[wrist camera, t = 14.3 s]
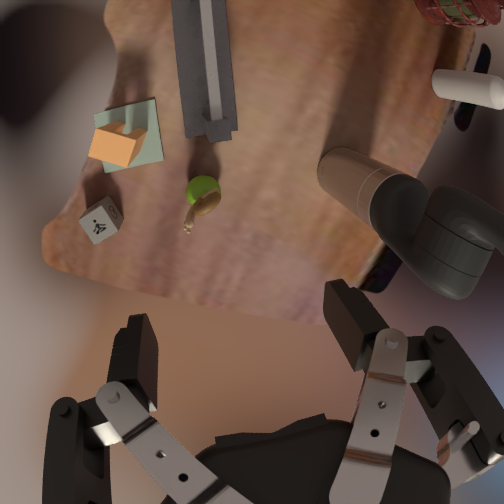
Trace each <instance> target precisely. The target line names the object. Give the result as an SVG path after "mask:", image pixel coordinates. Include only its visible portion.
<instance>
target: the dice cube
mask: <svg viewBox="0 0 504 504" xmlns="http://www.w3.org/2000/svg"><path fill="white" fill-rule="evenodd" d="M123 220H124V218H123V217H122V215H121V214H120V212H119V210H118V209H117V207H116V206H115V204H114V202H113V201H112V199H111V198H110V196H109V195H108V196H106V197H105V198H103V199H102V200H100V201H98V202H97V203H95V204H94V205H92V206H91V207H89V208H88V209H86V211H85V212H84V213H83V215H82V216H81V217H80V219H79V220H78V221H79V223H80V224H81V226H82V227H83V229H84V230H85V232H86V233H87V235H88V236H89V238H90V239H91V240H92V242H93V243H94V245H96V244H98V243H99V242H101V241H103V240H104V239H106V238H108V237H109V236H111V235H113V234H114V233H116V232H118V231H119V229H120V226H121V224H122V222H123Z"/></svg>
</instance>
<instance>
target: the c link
mask: <svg viewBox="0 0 504 504" xmlns="http://www.w3.org/2000/svg"><path fill="white" fill-rule="evenodd" d="M124 127H125V123H121V122H118V121H115V122H113V123H110V124H107V125H104V126H102V127H99V128H96V131H95V134H94V138H93V141H92V144H91V148H90V151H89V155H88V156H89V157H93V158H96V159H99V160H103V161H106V162H109V163H113V164H116V165H119V166H122V167H126V168H127V167H128V166H129V165H130V163H131V162H132V161H133V160H134V159H135V157H136V156H137V155H138V154H139V153H140V151H141V148H142V145H143V142H144V140H145V137H146V134H147V132H148V131H147V130H144V129H141V128H137V129H135V130H134V131H132V132H131V133H129V134H124V133H123V130H124Z"/></svg>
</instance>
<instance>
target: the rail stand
mask: <svg viewBox="0 0 504 504" xmlns="http://www.w3.org/2000/svg"><path fill="white" fill-rule="evenodd" d="M171 3H172V17H173V29H174V40H175V50H176V60H177V69H178V78H179V87H180V96H181V104H182V112H183V119H184V127H185V134H186V138H189V137H195V136H201V135H206V136H207V138H208V140H209V142H210V143H214V142H221V141H228V140H232V136H231V131H238V128H237V118H236V108H235V98H234V88H233V78H232V67H231V57H230V47H229V37H228V26H227V16H226V6H225V0H171Z"/></svg>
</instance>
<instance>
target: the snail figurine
mask: <svg viewBox="0 0 504 504" xmlns="http://www.w3.org/2000/svg"><path fill="white" fill-rule="evenodd" d="M186 197H187V200H188V202H189V203H190V204H191V205H192V206H191V207H190V209H189V211H188V213H187V216H186V220H185V222H184V227H183V229H184V230H187V228H188V230H187V231H186V232H187V233H188V234H190V230H189V228H191V227H193V225H194V219H195V215H197V216H203V215H205V214H207V213H209V212H210V211H212V210H213V209H214V208H215V207H216V206H217V205H218V204H219V202H220V200H221V189H220V186H219V184H218V182H217V181H216V180H215V179H214V178H212V177H210V176H207V175H200V176H197V177H195V178H193V179H192V180H191V181H190V182H189V184H188V186H187V188H186Z"/></svg>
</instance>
